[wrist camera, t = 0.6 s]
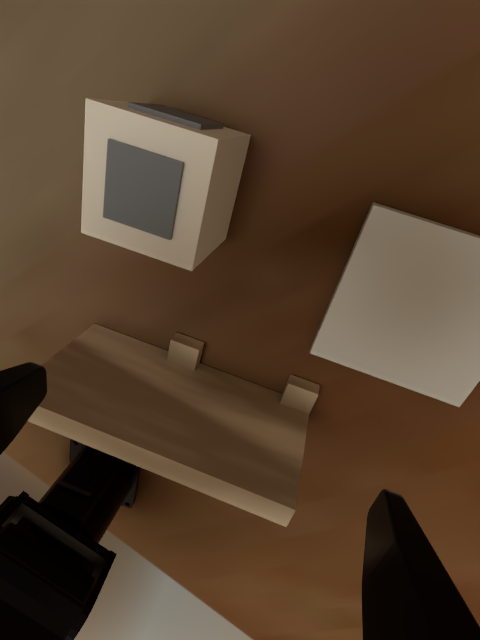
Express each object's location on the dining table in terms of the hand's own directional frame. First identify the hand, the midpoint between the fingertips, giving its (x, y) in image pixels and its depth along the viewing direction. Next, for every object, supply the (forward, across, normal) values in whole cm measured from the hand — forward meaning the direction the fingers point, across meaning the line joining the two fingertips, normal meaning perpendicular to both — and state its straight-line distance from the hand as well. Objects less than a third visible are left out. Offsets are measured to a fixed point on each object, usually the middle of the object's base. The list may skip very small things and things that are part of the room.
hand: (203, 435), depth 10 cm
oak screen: (+14, +4, +9) cm, 17 cm away
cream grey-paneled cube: (+14, +6, -3) cm, 15 cm away
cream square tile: (+14, -8, 0) cm, 16 cm away
